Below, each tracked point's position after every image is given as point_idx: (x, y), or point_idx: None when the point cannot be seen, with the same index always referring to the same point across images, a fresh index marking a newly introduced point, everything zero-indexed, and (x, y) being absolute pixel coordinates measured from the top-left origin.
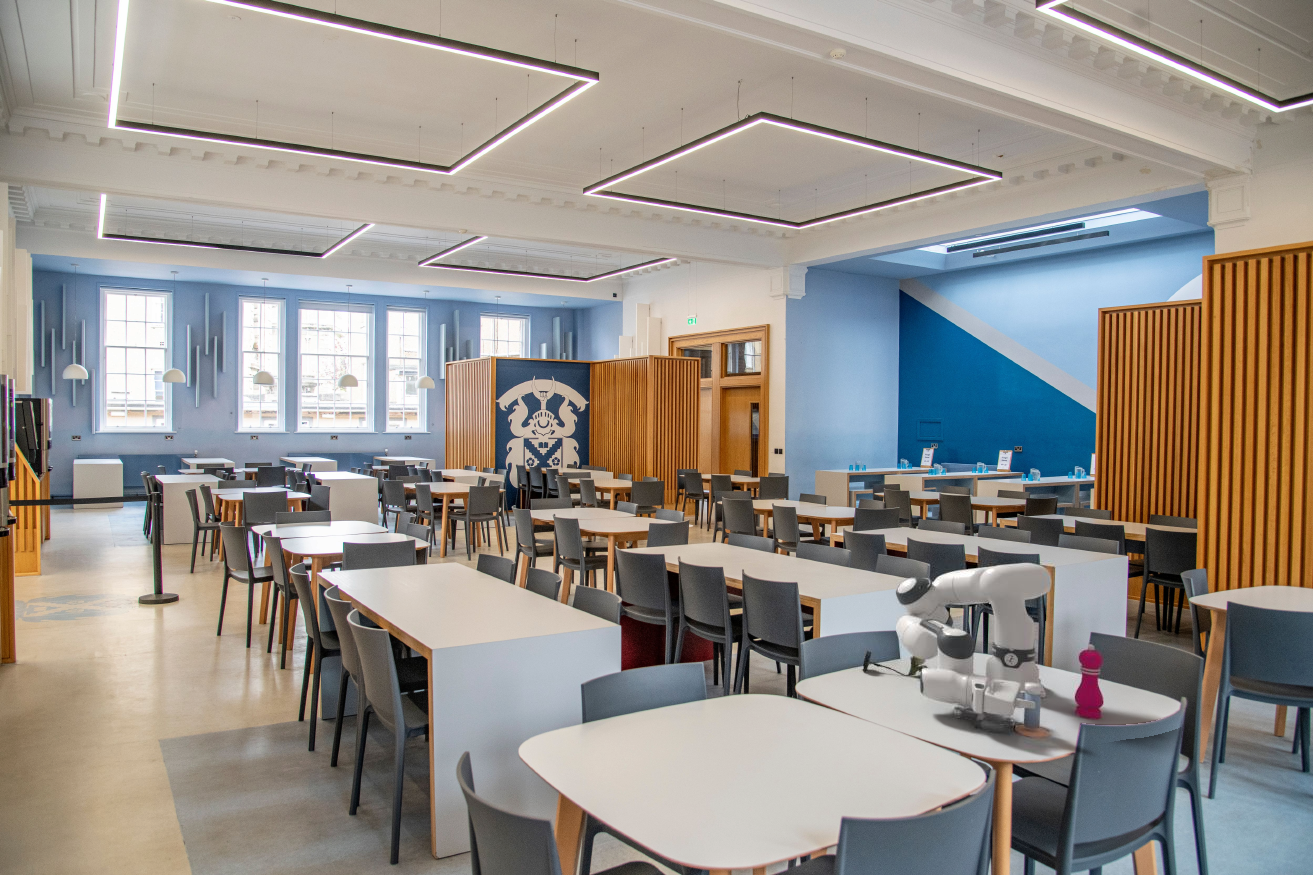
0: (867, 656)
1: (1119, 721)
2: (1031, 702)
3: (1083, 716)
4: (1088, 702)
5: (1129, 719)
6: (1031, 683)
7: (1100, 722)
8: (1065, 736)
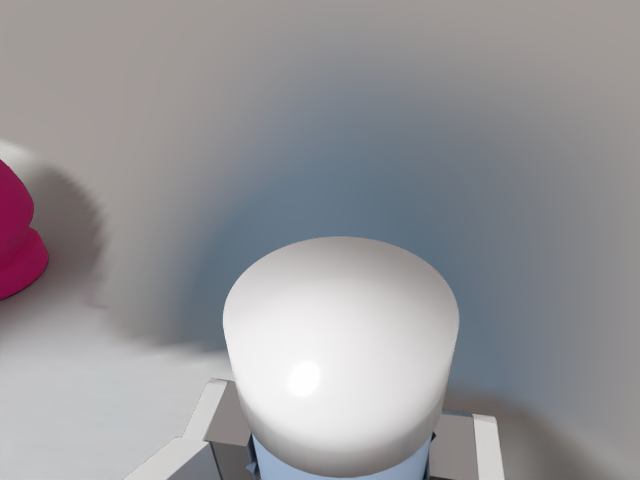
0: None
1: (78, 211)
2: (496, 452)
3: (21, 287)
4: (14, 218)
5: (57, 192)
6: (276, 320)
7: (91, 251)
8: None
